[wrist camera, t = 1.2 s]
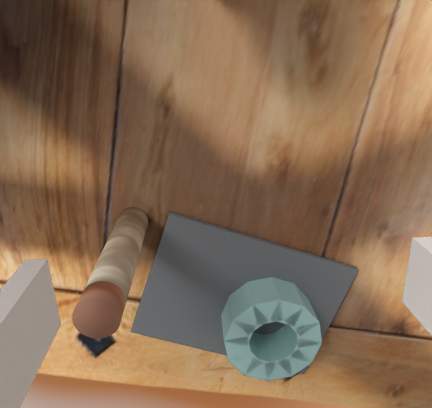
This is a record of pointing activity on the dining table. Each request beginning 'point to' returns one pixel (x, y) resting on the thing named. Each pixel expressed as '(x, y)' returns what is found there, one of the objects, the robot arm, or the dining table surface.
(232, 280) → the mat
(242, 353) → the bead
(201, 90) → the dining table surface
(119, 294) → the dowel
